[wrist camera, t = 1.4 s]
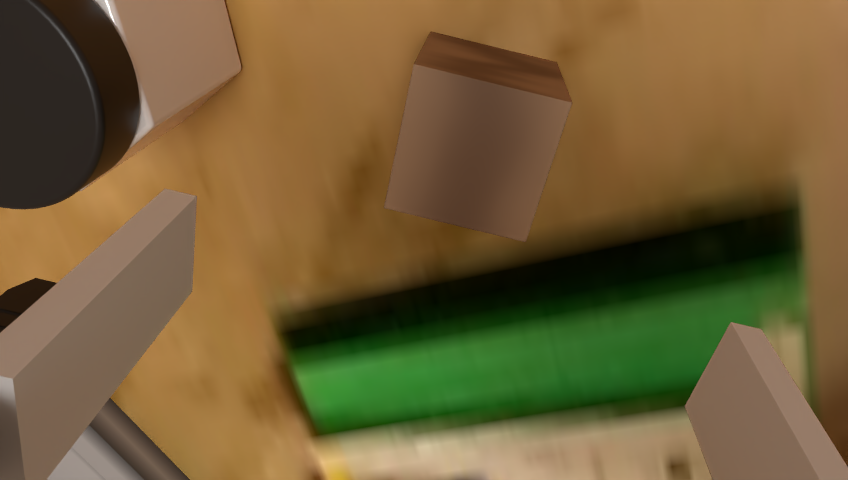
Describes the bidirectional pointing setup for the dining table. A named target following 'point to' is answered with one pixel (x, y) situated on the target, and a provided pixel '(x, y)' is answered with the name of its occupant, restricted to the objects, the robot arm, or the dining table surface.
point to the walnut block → (477, 136)
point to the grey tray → (115, 452)
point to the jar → (99, 85)
